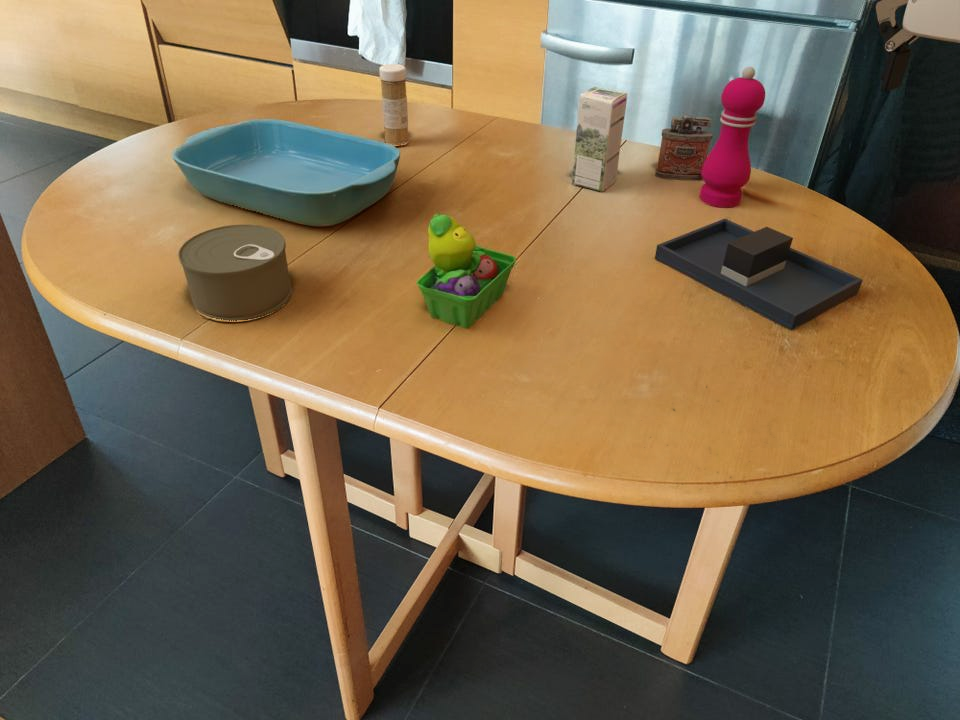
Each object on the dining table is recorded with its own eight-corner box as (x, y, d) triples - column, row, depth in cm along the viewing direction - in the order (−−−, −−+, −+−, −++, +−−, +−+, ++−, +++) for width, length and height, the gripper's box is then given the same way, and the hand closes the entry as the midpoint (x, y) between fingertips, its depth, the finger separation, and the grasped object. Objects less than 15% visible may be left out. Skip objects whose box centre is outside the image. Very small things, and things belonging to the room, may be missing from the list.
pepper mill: (688, 191, 115) (714, 60, 103) (730, 189, 116) (761, 59, 104) (708, 210, 109) (738, 74, 97) (751, 207, 110) (786, 72, 98)
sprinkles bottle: (397, 137, 133) (393, 61, 125) (414, 143, 131) (411, 66, 123) (379, 143, 130) (373, 66, 122) (396, 149, 128) (391, 71, 120)
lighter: (655, 178, 119) (665, 118, 113) (654, 170, 122) (664, 111, 116) (704, 181, 118) (717, 121, 112) (702, 173, 121) (714, 114, 115)
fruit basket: (472, 338, 81) (472, 249, 74) (406, 317, 84) (401, 230, 78) (517, 293, 89) (521, 209, 82) (455, 275, 92) (455, 193, 86)
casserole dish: (153, 194, 111) (141, 149, 107) (255, 149, 127) (248, 109, 123) (341, 251, 97) (336, 202, 93) (430, 193, 113) (428, 149, 109)
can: (234, 265, 94) (223, 217, 90) (312, 284, 90) (305, 235, 86) (169, 310, 85) (154, 259, 81) (253, 333, 81) (242, 281, 77)
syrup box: (617, 181, 118) (629, 91, 109) (601, 193, 114) (613, 100, 105) (586, 173, 120) (595, 85, 112) (569, 185, 116) (578, 94, 108)
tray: (857, 294, 90) (863, 279, 89) (791, 330, 83) (795, 315, 82) (721, 231, 104) (724, 218, 102) (654, 258, 97) (656, 244, 95)
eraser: (784, 268, 94) (793, 237, 91) (746, 286, 90) (754, 255, 87) (758, 256, 96) (766, 226, 94) (720, 273, 92) (728, 242, 90)
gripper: (1128, -92, 61) (1041, 110, 71) (925, -98, 73) (875, 77, 83) (1094, -86, 58) (1008, 125, 68) (886, -94, 69) (838, 88, 79)
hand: (935, 98), depth 75 cm, fingers open, 9 cm apart
